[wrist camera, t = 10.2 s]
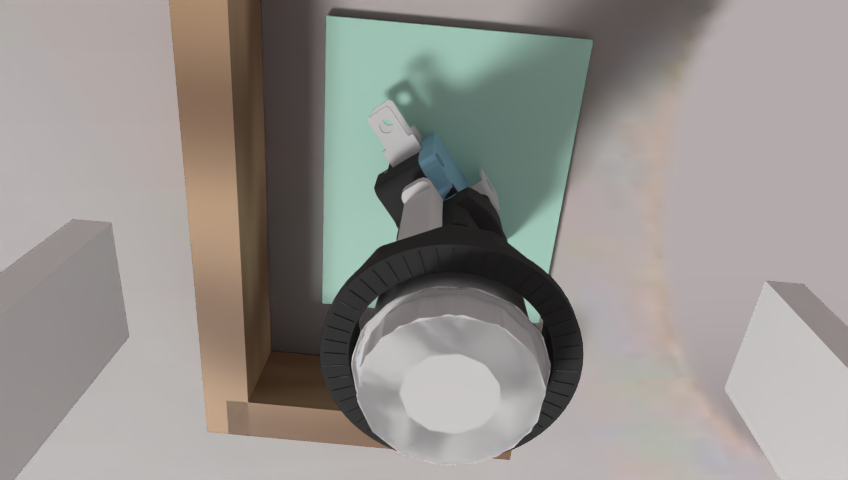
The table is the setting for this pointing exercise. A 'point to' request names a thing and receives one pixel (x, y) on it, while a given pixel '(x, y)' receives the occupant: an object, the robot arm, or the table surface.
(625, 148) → the table surface
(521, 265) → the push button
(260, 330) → the wooden l-shaped wall
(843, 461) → the robot arm
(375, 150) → the pad
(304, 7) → the table surface
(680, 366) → the table surface
